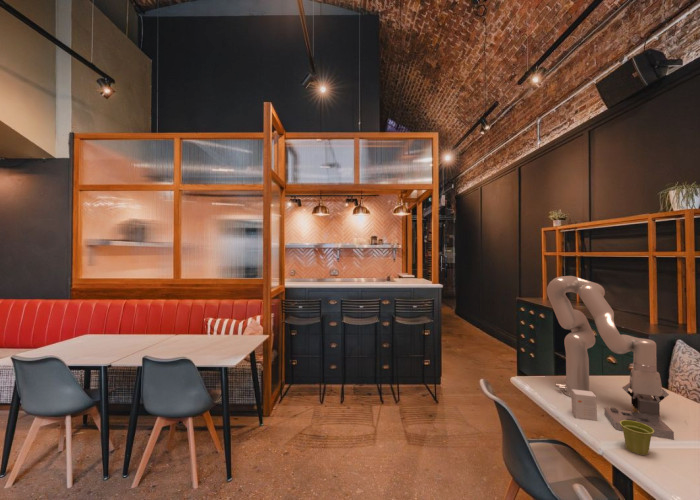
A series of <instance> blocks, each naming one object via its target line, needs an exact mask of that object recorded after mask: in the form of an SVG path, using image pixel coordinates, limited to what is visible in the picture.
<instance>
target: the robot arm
mask: <svg viewBox="0 0 700 500" xmlns="http://www.w3.org/2000/svg"><path fill="white" fill-rule="evenodd" d="M566 293H574V294H577V295H578V296H579V298H580V299H581V301H582V302H583V304H584V305H585V307H586V309H587V310H588V311H589V313H590V315H591V316H592V317H593V319H594V324H595V326H596V330H597V332H598V335H600V337H601V339H602V340H603V342H604V343H605V345H606V346H607V348H608V349H609V350H610V351H611V352H612V353H615V354H617V355H624V354H627V353H630V352H632V353H633V361H632V363H631V362H630V363H629V367H631V370H630V374H629V382H628V383H627V384H625V385H623V386H622V389H623V391H624V392H626V394H628V395H629V396H630V397H631V399H630V400H631V405H632V407H633V406H634V407H635V408H637V399H636V397H637V396H638V394H641V395H649V396H652V397H653V398H654V399H655V400H656V401H657V402H658V403H661V401H663V400H664V399H665V398H666V397H668V396H669V393H668V392H667V391H666V390H665V389H664V388H663V386H662V385H663V384H662V380H661V379H662V378H661V374H660V372H658V370H657V343H656V342H655V341H654V340H653V339H649V338H641V337H635V336H633V335H628V334H620V332H619V330H618V329H617V326H616V324H615V318H614V317H615V312H614V310H613V309H612V307H611V305H610V304H609V303H608V301H607V300H606V299H605V297H604V296H605V295H606V291H605V288H604V287H603V286H602V285H601V284H599V283H597V282H593V281H590V280H587V279H585V278H581V277H577V276H574V275H566V276H565V275H564V276H563V275H562V276H561V275H560V276H557V277H555V278H553V279H552V280H551V281H550V282H549V283H548V284H547V287H546V295H547V298H548V299H549V302H550V304H551V306H552V309H553V312H554V314H555V316H556V317H555V318H556V319H557V321H558V324H559V325H560V326H561V328H562V329H564V330H568V331H571V332H569V333H568V334H566V335H565V337H564V339H563V340H564V350H565V372H566V373H565V377H566V378H565V381H564V383H562V384H561V383H557V382H555V388H558V389H560V390H562V393H563V394H564V395H566V396H567V397H570V398H572V393H571V390H572V389H574V390H583V391H590V361H589V360H590V359H589V354H588V349H590V348H593V346H594V345H595V344H596V336H595V334H594V332H593V329H592V327H591V325H590V323H589V320H588V318H587V317H586V315H585V314H584V313H583V312H582V311H581V310H578V309H574V308H573V305H572V303H571V301H570V299H569V297H568V296H567V295H566ZM629 389H630V390H631V391H630V390H629Z"/></svg>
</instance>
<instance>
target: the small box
mask: <svg viewBox="0 0 700 500" xmlns="http://www.w3.org/2000/svg"><path fill="white" fill-rule="evenodd" d="M571 393H572V397H571V413H572V415H573V417H575V418H576V419H579V420H580V419H581V420H588V421H589V420H590V421H597V420H598V409H597V407H598V406H597V405H598V404H597V403H598V398H597V395H595V393H594V392H593V391H590V390H589V391H583V390H574V389H572V390H571Z"/></svg>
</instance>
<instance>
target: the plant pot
mask: <svg viewBox="0 0 700 500" xmlns="http://www.w3.org/2000/svg"><path fill="white" fill-rule="evenodd" d="M620 425H621V426H622V429H623V431H622V432H623V436H624V437H623V438H624V442H625V448H626V450H628V451H630V452H632V453H633V454H634V453H636V454H638V455H641V456H647V455H648V454H649V453H650V452H649V451H650V445H651V440H652V437H653V436H652V434H653V433H654V430H653V429H652V428H651V427H649V426H647V425H645V424H643V423H640V422H636V421H631V420H622V421H620Z"/></svg>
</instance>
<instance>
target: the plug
mask: <svg viewBox="0 0 700 500" xmlns="http://www.w3.org/2000/svg"><path fill="white" fill-rule="evenodd" d="M636 399H637V408H635V407H634V406H633V405H632V412H639V413H645V414H652V415H657V416H658V417H661V416H660V414H661V413H660V412H661V411H660V404H661V402H659V403H658V402H657V401H656V400H655V399H654V397H653V396H649V395H641V394H638V396H637V397H636Z"/></svg>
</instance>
